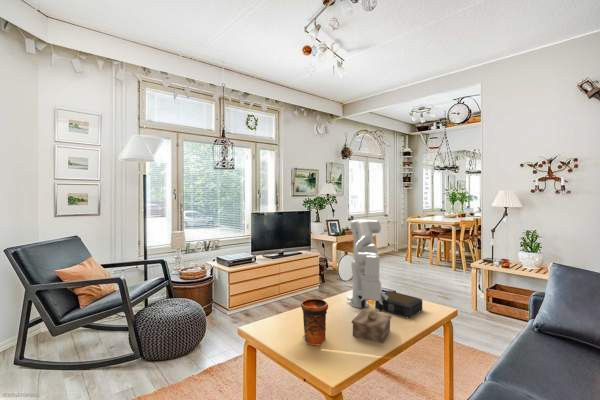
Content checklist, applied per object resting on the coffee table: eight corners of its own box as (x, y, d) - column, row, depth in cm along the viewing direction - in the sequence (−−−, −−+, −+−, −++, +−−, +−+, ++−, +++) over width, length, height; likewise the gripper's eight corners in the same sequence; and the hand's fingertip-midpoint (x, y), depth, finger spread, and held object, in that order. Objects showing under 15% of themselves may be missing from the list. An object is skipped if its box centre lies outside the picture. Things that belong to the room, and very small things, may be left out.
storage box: (352, 337, 164) (352, 323, 164) (362, 326, 178) (362, 312, 178) (382, 345, 156) (382, 329, 156) (389, 332, 170) (390, 318, 170)
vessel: (298, 345, 155) (299, 306, 155) (302, 333, 170) (302, 297, 170) (327, 348, 153) (327, 308, 153) (328, 335, 168) (328, 299, 168)
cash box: (373, 308, 206) (373, 297, 206) (389, 300, 220) (389, 290, 220) (409, 319, 188) (409, 307, 188) (423, 310, 203) (423, 298, 202)
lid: (351, 323, 164) (351, 313, 164) (361, 312, 179) (361, 303, 178) (383, 330, 156) (383, 320, 155) (391, 318, 170) (391, 308, 170)
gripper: (354, 277, 167) (354, 308, 167) (386, 281, 159) (386, 314, 159) (358, 274, 174) (358, 304, 174) (389, 278, 165) (389, 310, 165)
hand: (372, 309), depth 166 cm, fingers open, 9 cm apart
